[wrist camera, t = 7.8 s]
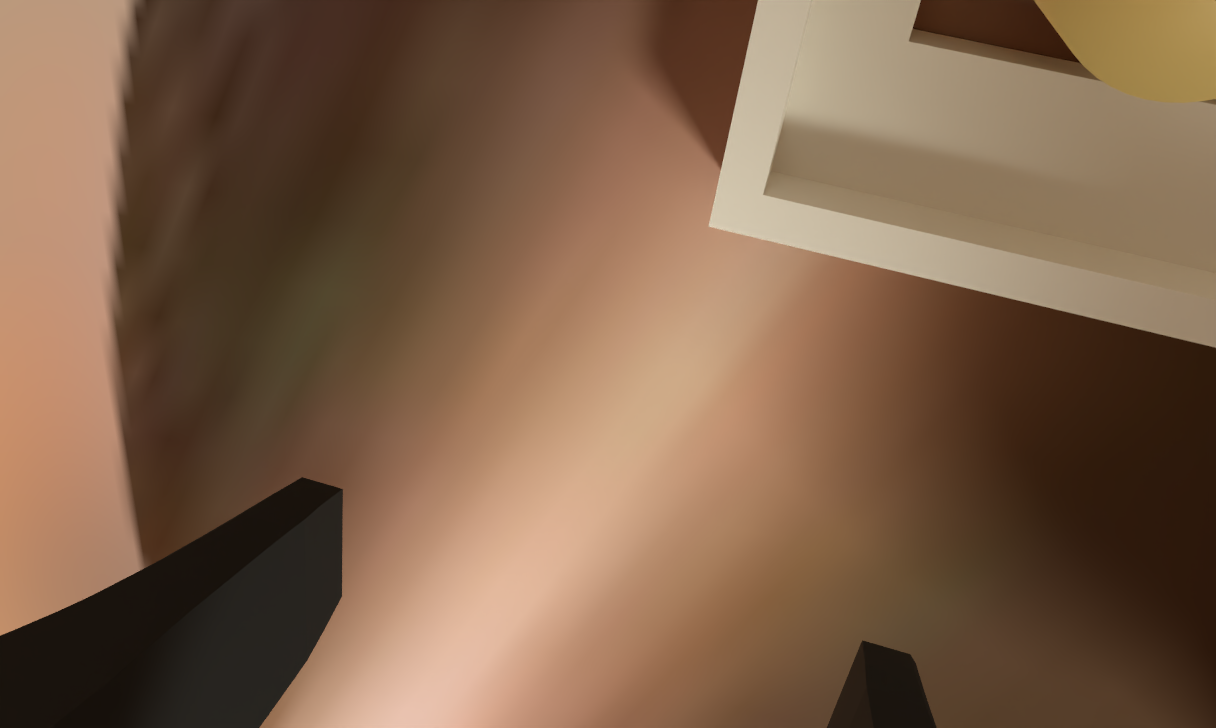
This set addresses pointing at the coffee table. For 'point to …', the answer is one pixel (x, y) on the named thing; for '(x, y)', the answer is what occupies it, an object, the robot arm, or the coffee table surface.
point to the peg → (1142, 44)
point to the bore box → (972, 167)
